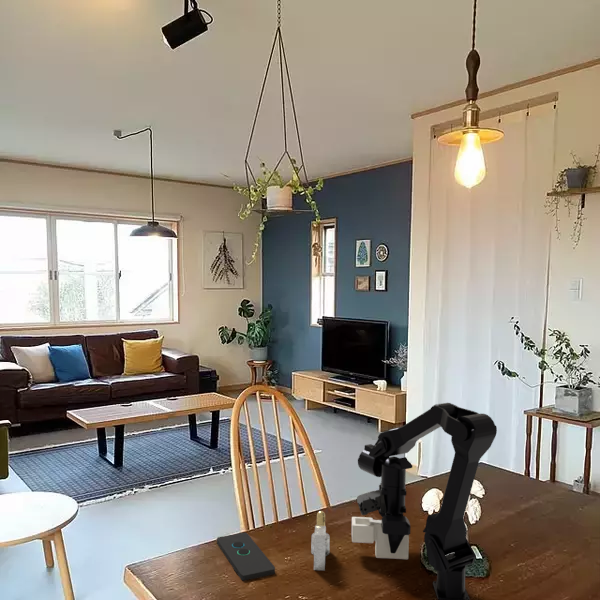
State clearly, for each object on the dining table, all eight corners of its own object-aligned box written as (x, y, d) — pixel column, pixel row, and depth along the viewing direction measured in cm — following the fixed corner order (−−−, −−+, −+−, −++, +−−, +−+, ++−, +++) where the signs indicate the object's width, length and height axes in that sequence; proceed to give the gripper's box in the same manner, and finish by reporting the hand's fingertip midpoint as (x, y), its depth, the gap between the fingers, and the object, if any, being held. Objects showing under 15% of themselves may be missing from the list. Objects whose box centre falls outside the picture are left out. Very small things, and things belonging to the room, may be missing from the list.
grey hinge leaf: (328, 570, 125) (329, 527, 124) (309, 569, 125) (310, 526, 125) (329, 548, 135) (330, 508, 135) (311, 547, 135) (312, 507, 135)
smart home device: (246, 531, 141) (276, 567, 123) (246, 538, 141) (276, 575, 123) (215, 537, 138) (241, 575, 119) (215, 543, 138) (241, 583, 119)
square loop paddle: (408, 561, 129) (409, 528, 129) (351, 558, 130) (352, 525, 130) (406, 551, 134) (407, 519, 134) (351, 549, 135) (351, 516, 135)
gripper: (357, 468, 141) (356, 529, 142) (361, 496, 123) (359, 565, 123) (401, 470, 141) (400, 531, 141) (411, 498, 122) (409, 567, 122)
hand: (391, 547), depth 132 cm, fingers open, 5 cm apart
